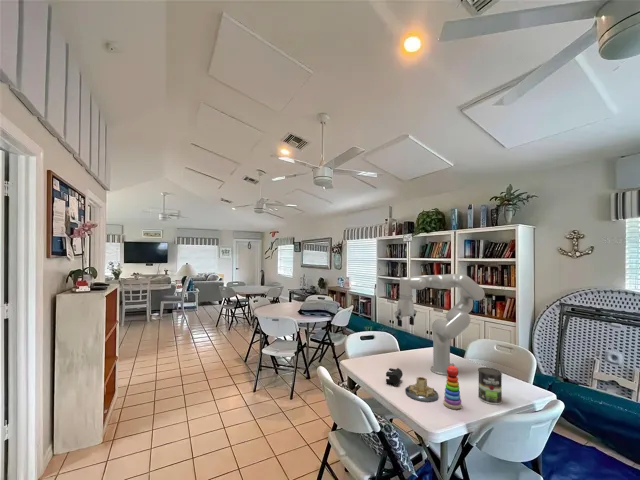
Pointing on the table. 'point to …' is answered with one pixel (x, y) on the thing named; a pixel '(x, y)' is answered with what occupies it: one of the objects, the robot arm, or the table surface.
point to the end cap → (393, 376)
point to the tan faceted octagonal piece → (421, 388)
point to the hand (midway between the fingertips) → (405, 325)
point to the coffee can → (490, 385)
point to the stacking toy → (452, 389)
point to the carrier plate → (422, 399)
